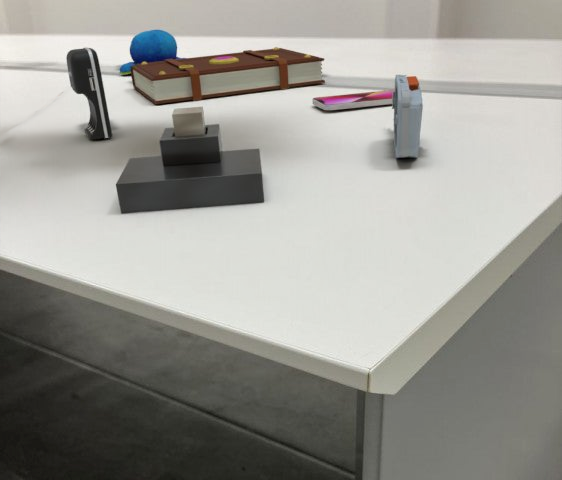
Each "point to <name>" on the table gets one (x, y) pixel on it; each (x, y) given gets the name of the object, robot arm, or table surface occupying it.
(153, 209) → the grey stepped pedestal
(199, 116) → the beige cube
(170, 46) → the plush toy
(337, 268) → the table surface
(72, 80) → the black curved upright piece
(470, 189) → the table surface
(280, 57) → the book
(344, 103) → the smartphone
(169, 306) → the table surface
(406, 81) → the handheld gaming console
